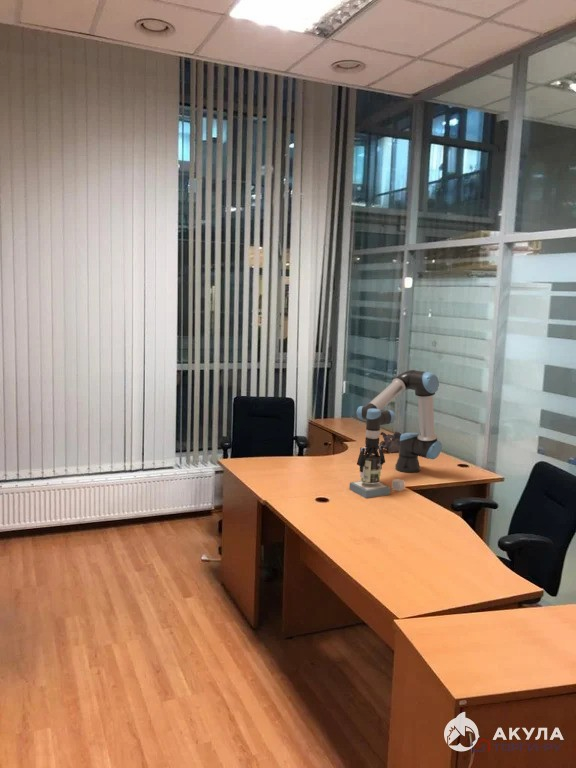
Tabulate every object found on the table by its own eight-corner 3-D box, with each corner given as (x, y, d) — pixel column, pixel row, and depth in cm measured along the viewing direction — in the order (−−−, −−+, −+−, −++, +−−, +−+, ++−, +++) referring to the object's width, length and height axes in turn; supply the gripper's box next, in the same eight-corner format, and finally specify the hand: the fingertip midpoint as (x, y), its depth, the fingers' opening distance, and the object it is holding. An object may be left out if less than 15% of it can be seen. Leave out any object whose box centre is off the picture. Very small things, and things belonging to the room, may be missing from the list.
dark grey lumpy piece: (381, 453, 424) (410, 454, 427) (383, 432, 423) (411, 433, 427) (375, 450, 438) (403, 451, 441) (377, 429, 437) (404, 430, 440)
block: (396, 487, 355) (396, 478, 354) (404, 489, 352) (404, 480, 351) (391, 489, 351) (392, 480, 351) (399, 491, 348) (399, 482, 347)
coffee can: (380, 479, 348) (381, 454, 346) (378, 485, 338) (380, 459, 336) (361, 477, 350) (362, 453, 348) (359, 483, 340) (361, 458, 338)
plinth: (372, 486, 356) (373, 478, 355) (390, 494, 342) (390, 487, 341) (349, 489, 348) (349, 482, 347) (365, 498, 334) (366, 490, 334)
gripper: (385, 433, 349) (382, 472, 352) (351, 437, 338) (349, 476, 342) (393, 436, 342) (391, 476, 346) (359, 440, 332) (357, 480, 335)
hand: (370, 476), depth 344 cm, fingers closed on coffee can, 10 cm apart
